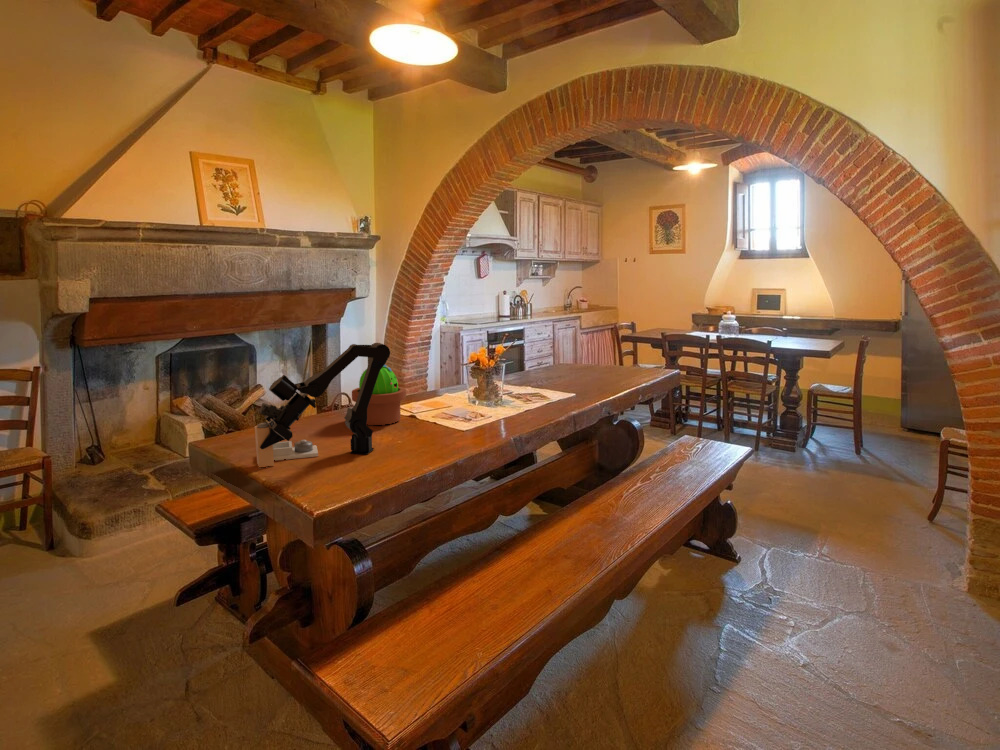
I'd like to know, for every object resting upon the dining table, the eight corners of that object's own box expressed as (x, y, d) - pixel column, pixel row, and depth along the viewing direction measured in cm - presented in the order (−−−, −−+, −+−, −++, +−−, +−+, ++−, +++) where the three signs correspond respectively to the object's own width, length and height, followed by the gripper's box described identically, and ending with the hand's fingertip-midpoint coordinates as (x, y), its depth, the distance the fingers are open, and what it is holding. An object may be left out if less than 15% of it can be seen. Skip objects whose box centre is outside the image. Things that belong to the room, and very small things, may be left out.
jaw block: (271, 462, 194) (269, 422, 191) (274, 466, 190) (271, 425, 187) (257, 464, 191) (254, 423, 189) (259, 468, 187) (256, 426, 185)
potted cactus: (343, 425, 241) (341, 366, 237) (367, 413, 262) (365, 358, 258) (393, 429, 236) (391, 368, 232) (413, 416, 257) (412, 360, 253)
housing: (316, 448, 210) (315, 435, 209) (318, 456, 200) (317, 443, 200) (262, 453, 203) (261, 440, 203) (261, 461, 194) (260, 448, 193)
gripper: (269, 389, 196) (235, 425, 193) (279, 399, 181) (243, 438, 177) (294, 409, 202) (262, 444, 198) (306, 421, 186) (272, 459, 182)
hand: (259, 446), depth 189 cm, fingers closed on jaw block, 4 cm apart
